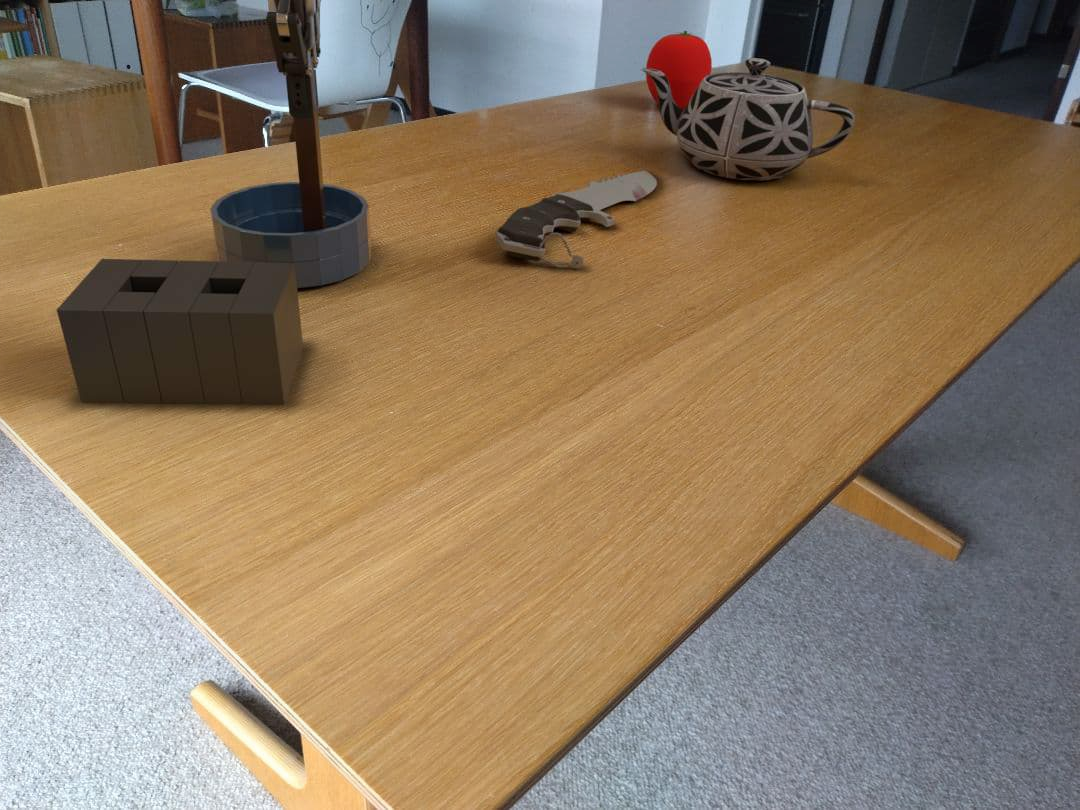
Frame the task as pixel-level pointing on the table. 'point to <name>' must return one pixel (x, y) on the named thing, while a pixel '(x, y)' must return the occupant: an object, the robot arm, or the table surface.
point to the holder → (184, 332)
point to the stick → (310, 167)
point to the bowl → (294, 231)
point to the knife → (568, 215)
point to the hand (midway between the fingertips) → (304, 112)
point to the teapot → (747, 123)
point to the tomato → (680, 65)
